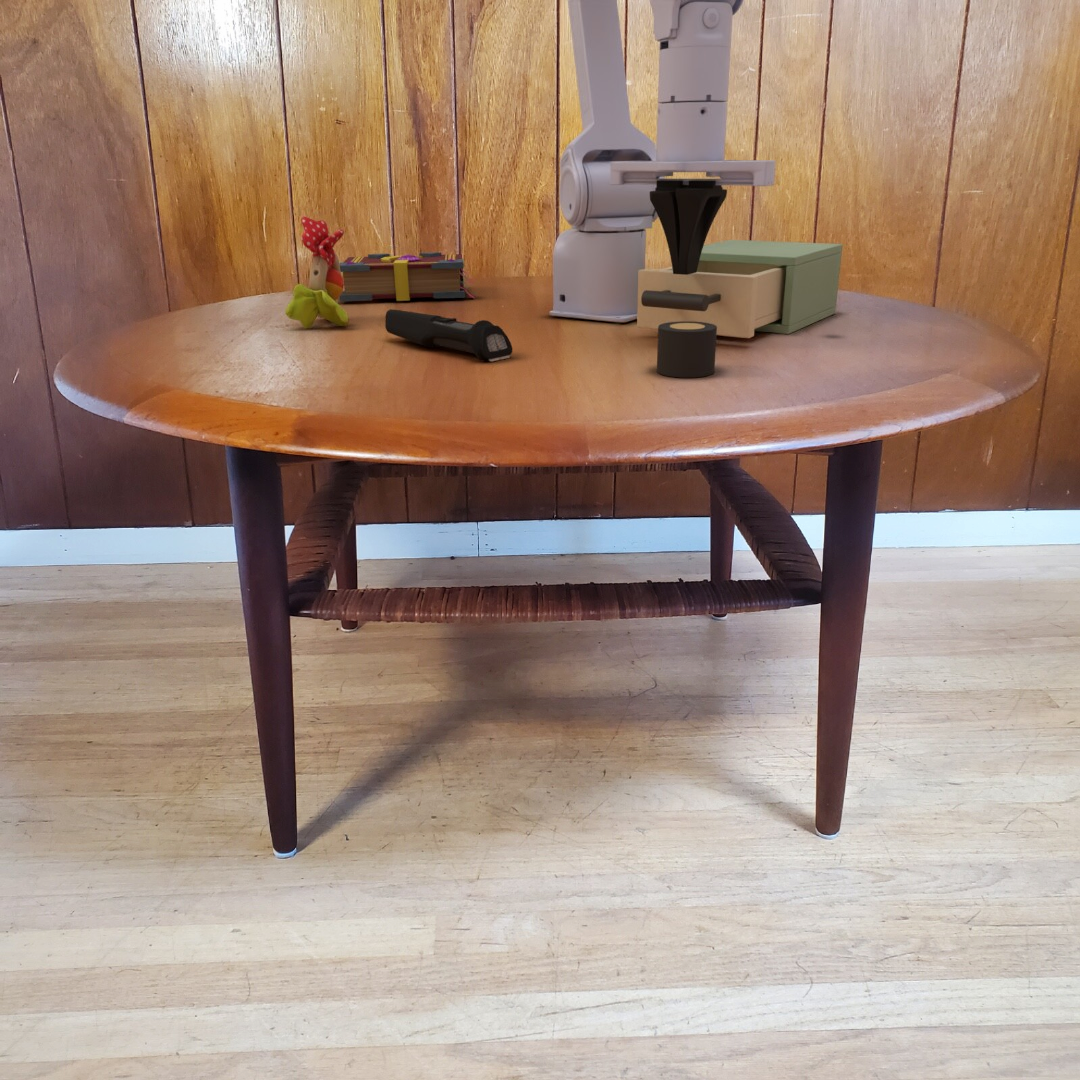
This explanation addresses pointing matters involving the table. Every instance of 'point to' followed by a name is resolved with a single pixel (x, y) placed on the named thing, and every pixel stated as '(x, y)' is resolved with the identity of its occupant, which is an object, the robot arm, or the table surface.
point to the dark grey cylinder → (686, 349)
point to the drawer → (713, 296)
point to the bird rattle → (319, 278)
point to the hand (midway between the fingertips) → (684, 273)
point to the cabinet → (790, 276)
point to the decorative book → (403, 277)
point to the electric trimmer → (450, 334)
